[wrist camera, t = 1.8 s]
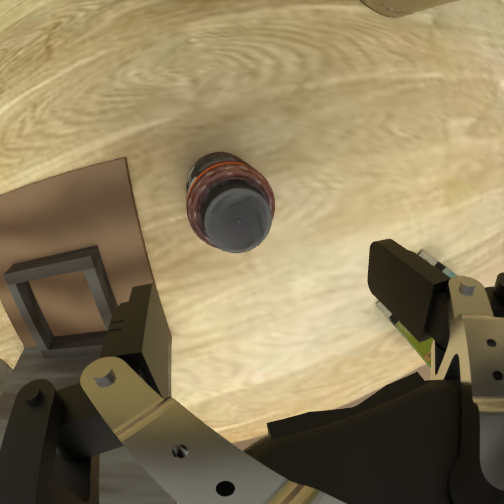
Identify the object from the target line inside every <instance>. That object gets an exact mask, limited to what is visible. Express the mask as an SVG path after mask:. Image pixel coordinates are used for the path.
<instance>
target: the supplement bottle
mask: <svg viewBox="0 0 504 504" xmlns="http://www.w3.org/2000/svg"><path fill="white" fill-rule="evenodd" d="M186 188H187V215H188V219H189V222H190V225H191V227H192V229H193V230H194V232H195V233H196V235H197V236H198V237H199V238H200V239H202V240H203V241H204V242H205V243H207V244H208V245H211V246H213V247H216V248H219V249H221V250H223V251H227V252H232V253H241V252H246V251H249V250H251V249H253V248H255V247H256V246H258V245H259V244H260V243H261V242H262V241H263V240H264V239H265V238H266V236H267V234H268V233H269V231H270V227H271V223H272V220H273V216H274V211H275V199H274V195H273V191H272V189H271V187H270V185H269V183H268V182H267V180H266V179H265V177H264V176H263V175H262V174H260V173H259V172H258V171H257V170H255V169H254V168H253V167H251V166H250V165H249V164H247V163H246V162H244V161H243V160H241V159H240V158H238V157H236V156H234V155H232V154H229V153H224V152H218V153H212V154H209V155H206V156H204V157H202V158H201V159H200V160H198V161H197V162H196V163H195V165H194V166H193V167H192V169H191V171H190V173H189V176H188V179H187V186H186Z"/></svg>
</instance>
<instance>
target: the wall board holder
mask: <svg viewBox="0 0 504 504" xmlns="http://www.w3.org/2000/svg"><path fill="white" fill-rule="evenodd" d="M151 283H154V284H155V281H154V278H153V274H152V271H151V267H150V263H149V260H148V256H147V252H146V248H145V244H144V240H143V236H142V232H141V228H140V223H139V219H138V215H137V210H136V206H135V201H134V196H133V192H132V187H131V182H130V176H129V171H128V166H127V160H126V157H125V158H121V159H117V160H113V161H109V162H105V163H101V164H97V165H93V166H90V167H86V168H82V169H79V170H75V171H72V172H68V173H65V174H62V175H58V176H55V177H52V178H49V179H46V180H43V181H40V182H37V183H34V184H31V185H28V186H25V187H22V188H19V189H16V190H14V191H11V192H8V193H6V194H3V195H0V300H1V302H2V304H3V306H4V309H5V311H6V313H7V315H8V317H9V319H10V321H11V323H12V324H13V326H14V328H15V330H16V332H17V334H18V336H19V337H20V339H21V341H22V343H23V345H24V346H25V348H24V350H23V352H22V354H21V356H20V358H19V360H18V362H17V364H16V366H15V368H14V370H13V372H12V374H11V376H10V378H9V381H8V383H7V385H6V387H5V389H4V392H3V394H2V396H1V398H0V449H1V445H2V441H3V438H4V434H5V430H6V427H7V424H8V420H9V417H10V414H11V411H12V407H13V404H14V401H15V399H16V396H17V394H18V392H19V391H20V389H21V388H22V387H23V386H24V385H26V384H27V383H29V382H31V381H33V380H36V379H46V380H48V381H50V382H51V383H52V384H53V385H54V387H55V388H56V390H59V389H62V388H65V387H68V386H71V385H74V384H77V383H80V378H81V374H82V372H83V371H84V369H85V368H86V367H87V366H88V365H89V364H91V363H92V362H94V361H96V360H98V359H100V355H101V352H102V348H103V344H104V341H105V337H106V334H107V332H108V327H109V324H110V320H111V317H112V314H113V312H114V311H115V309H116V308H117V307H118V306H119V305H120V304H121V303H124V302H129V298H130V294H131V291H132V287H134V286H139V285H145V284H151ZM155 286H156V285H155ZM156 289H157V288H156ZM157 293H158V292H157ZM158 296H159V295H158ZM160 303H161V302H160ZM161 306H162V305H161ZM162 309H163V308H162ZM164 316H165V315H164ZM165 319H166V318H165ZM166 322H167V321H166ZM167 327H168V324H167ZM168 334H169V345H168V397H171V342H172V336H171V333H170V330H169V327H168ZM99 504H177V502H176V501H175V500H174V499H173V498H172V497H171V496H170V495H169V494H168V493H167V492H166V491H165V490H164V489H163V488H162V487H161V486H160V485H159V484H158V483H157V482H156V481H155V480H154V479H153V478H152V477H151V476H150V475H149V473H148V472H147V471H146V470H145V469H144V468H143V467H142V466H141V465H140V464H139V462H138V461H137V460H136V459H135V458H134V457H133V455H132V454H131V453H130V452H129V451H128V450H127V448H126V447H125V446H122V447H119V448H116V449H113V450H110V451H107V452H104V453H101V454H100V465H99Z"/></svg>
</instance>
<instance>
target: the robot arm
mask: <svg viewBox="0 0 504 504" xmlns="http://www.w3.org/2000/svg"><path fill="white" fill-rule="evenodd" d="M362 1H363V2H364V3H365V4H366V5H367V6H369V7H370V8H372V9H373V10H375V11H376V12H378V13H380V14H383V15H386V16H389V17H402V16H405V15H408V14H412V13H414V12H417V11H421V10H424V9H428V8H431V7H435V6H438V5H442V4H446V3H450V2H454V1H458V0H362ZM368 286H369V289H370V291H371V293H372V294H373V295H374V296H375V297H376V298H377V299H378V300H379V301H380V302H381V303H382V304H383V305H384V306H385V307H386V308H387V309H388V310H389V311H390V312H391V313H392V314H393V315H394V316H395V317H396V319H397V320H398V321H399V322H400V323H401V324H402V325H403V326H404V327H405V328H406V329H407V330H408V331H409V332H410V333H411V334H412V335H413V336H414V337H415V339H416V340H417V341H418V342H419V343H420V342H423V341H425V340H427V339H429V338H433V343H432V346H431V380H428V381H424V379H423V378H422V377H421V376H420V375H419V373H418V372H416V373H414V374H411V375H409V376H407V377H405V378H402V379H400V380H398V381H395V382H393V383H391V384H388V385H386V386H385V387H383V388H382V389H381V390H379V391H378V392H376V393H375V394H374V395H372V396H371V397H369V398H368V399H366V400H365V401H363V402H362V403H360V404H359V405H357V406H355V407H352V408H344V409H336V410H326V411H316V412H308V413H304V414H301V415H297V416H293V417H289V418H286V419H282V420H278V421H274V422H269V423H267V428H268V435H267V436H265V437H263V438H261V439H259V440H258V441H256V442H255V443H253V444H251V445H250V446H249V447H247V448H246V449H245V450H243V451H242V450H240V449H239V448H237V447H236V446H234V445H233V444H232V443H230V442H229V441H227V440H226V439H225V438H223V437H222V436H221V435H219V434H218V433H217V432H215V431H214V430H213V429H211V428H210V427H209V426H207V425H206V424H205V423H203V422H202V421H201V420H200V419H198V418H197V417H196V416H195V415H193V414H192V413H191V412H190V411H188V410H187V409H186V408H185V407H183V406H182V405H181V404H180V403H179V402H177V401H176V400H175V399H173V398H172V397H168V345H169V334H168V327H167V322H166V319H165V316H164V312H163V309H162V306H161V303H160V299H159V296H158V293H157V289H156V286H155V284H154V283H151V284H145V285H139V286H134V287H132V291H131V294H130V298H129V302H124V303H121V304H120V305H119V306H118V307H117V308H116V309H115V311H114V312H113V314H112V317H111V320H110V324H109V327H108V332H107V334H106V337H105V341H104V344H103V348H102V352H101V355H100V359H98V360H96V361H94V362H92V363H91V364H89V365H88V366H87V367H86V368H85V369H84V371H83V372H82V374H81V378H80V383H77V384H74V385H71V386H68V387H65V388H62V389H59V390H56V388H55V387H54V385H53V384H52V383H51V382H50V381H48V380H46V379H36V380H33V381H31V382H29V383H27V384H26V385H24V386H23V387H22V388H21V389H20V391H19V392H18V394H17V396H16V399H15V401H14V404H13V407H12V411H11V414H10V417H9V420H8V424H7V427H6V430H5V434H4V438H3V441H2V445H1V449H0V504H99V465H100V454H101V453H104V452H107V451H110V450H113V449H116V448H119V447H122V446H125V447H126V448H127V450H128V451H129V452H130V453H131V454H132V455H133V457H134V458H135V459H136V460H137V461H138V462H139V464H140V465H141V466H142V467H143V468H144V469H145V470H146V471H147V472H148V473H149V475H150V476H151V477H152V478H153V479H154V480H155V481H156V482H157V483H158V484H159V485H160V486H161V487H162V488H163V489H164V490H165V491H166V492H167V493H168V494H169V495H170V496H171V497H172V498H173V499H174V500H175V501H176V502H177V503H179V504H504V273H500V274H499V275H498V276H497V279H496V283H495V286H494V287H486V288H484V286H483V285H482V284H481V283H480V282H479V281H477V280H475V279H473V278H470V277H466V276H456V277H453V278H450V277H449V276H447V275H446V274H445V273H443V272H442V271H440V270H439V269H438V268H436V267H435V266H433V265H432V264H431V265H430V263H429V262H428V261H426V260H423V258H422V257H420V256H419V255H417V254H416V253H414V252H412V251H409V250H407V249H405V248H404V247H402V246H401V245H399V244H398V243H396V242H395V241H393V240H392V239H385V240H380V241H375V242H373V243H372V244H371V246H370V253H369V267H368Z"/></svg>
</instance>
